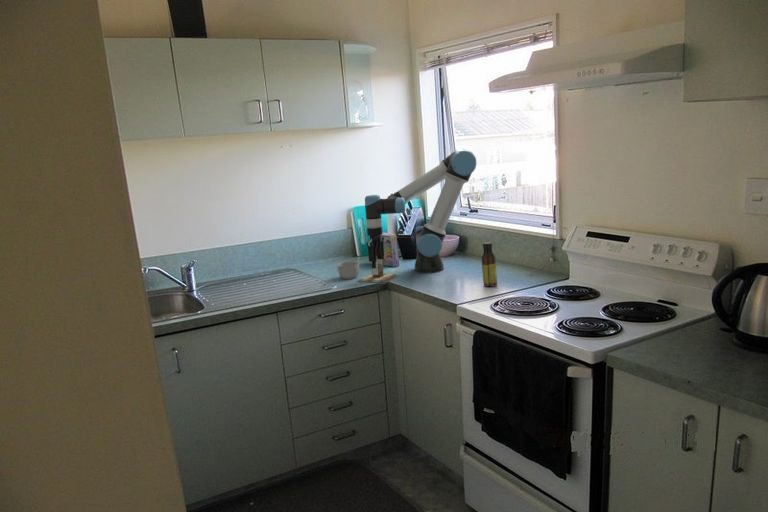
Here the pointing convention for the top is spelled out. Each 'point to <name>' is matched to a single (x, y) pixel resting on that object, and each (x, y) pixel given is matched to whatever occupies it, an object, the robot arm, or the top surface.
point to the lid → (378, 276)
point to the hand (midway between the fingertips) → (377, 273)
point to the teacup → (348, 269)
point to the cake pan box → (390, 250)
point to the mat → (380, 282)
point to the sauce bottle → (489, 265)
